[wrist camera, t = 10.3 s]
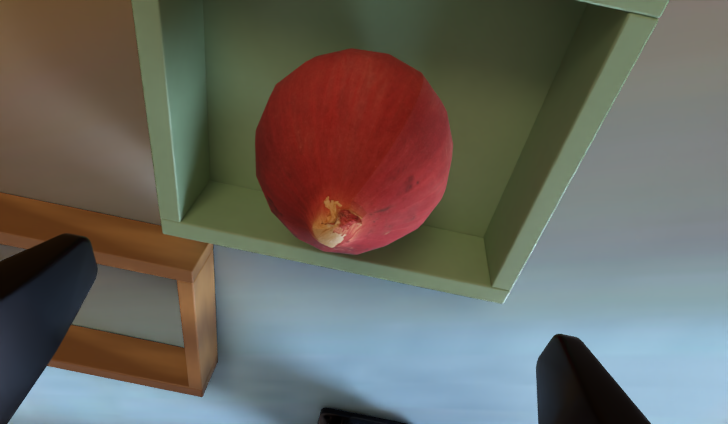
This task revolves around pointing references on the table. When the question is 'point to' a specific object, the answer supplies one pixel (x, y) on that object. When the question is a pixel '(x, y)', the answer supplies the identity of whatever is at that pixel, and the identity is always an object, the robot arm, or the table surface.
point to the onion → (353, 151)
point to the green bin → (447, 78)
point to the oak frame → (140, 254)
